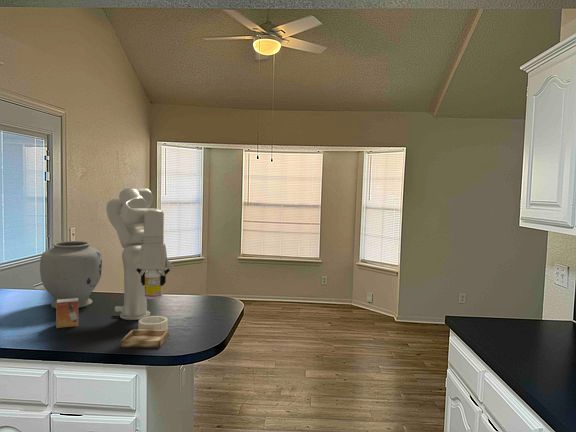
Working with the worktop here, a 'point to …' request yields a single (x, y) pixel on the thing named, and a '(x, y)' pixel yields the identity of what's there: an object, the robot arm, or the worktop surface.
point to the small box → (67, 313)
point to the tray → (145, 338)
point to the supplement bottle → (153, 284)
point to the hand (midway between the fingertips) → (153, 284)
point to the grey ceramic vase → (71, 271)
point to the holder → (153, 323)
